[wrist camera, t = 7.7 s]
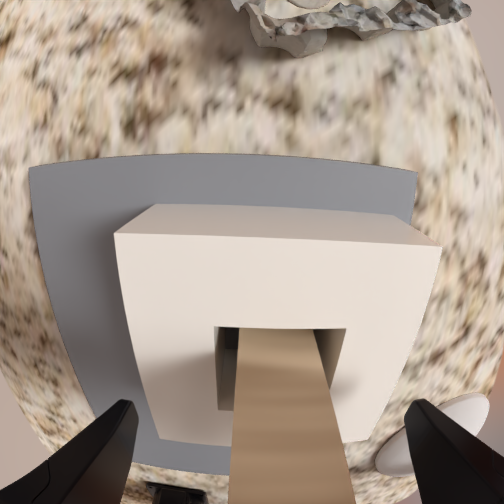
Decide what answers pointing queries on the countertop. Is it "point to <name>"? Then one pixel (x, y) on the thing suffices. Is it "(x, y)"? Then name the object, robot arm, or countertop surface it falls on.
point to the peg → (285, 424)
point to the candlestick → (458, 409)
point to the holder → (269, 304)
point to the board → (136, 202)
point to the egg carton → (343, 22)
